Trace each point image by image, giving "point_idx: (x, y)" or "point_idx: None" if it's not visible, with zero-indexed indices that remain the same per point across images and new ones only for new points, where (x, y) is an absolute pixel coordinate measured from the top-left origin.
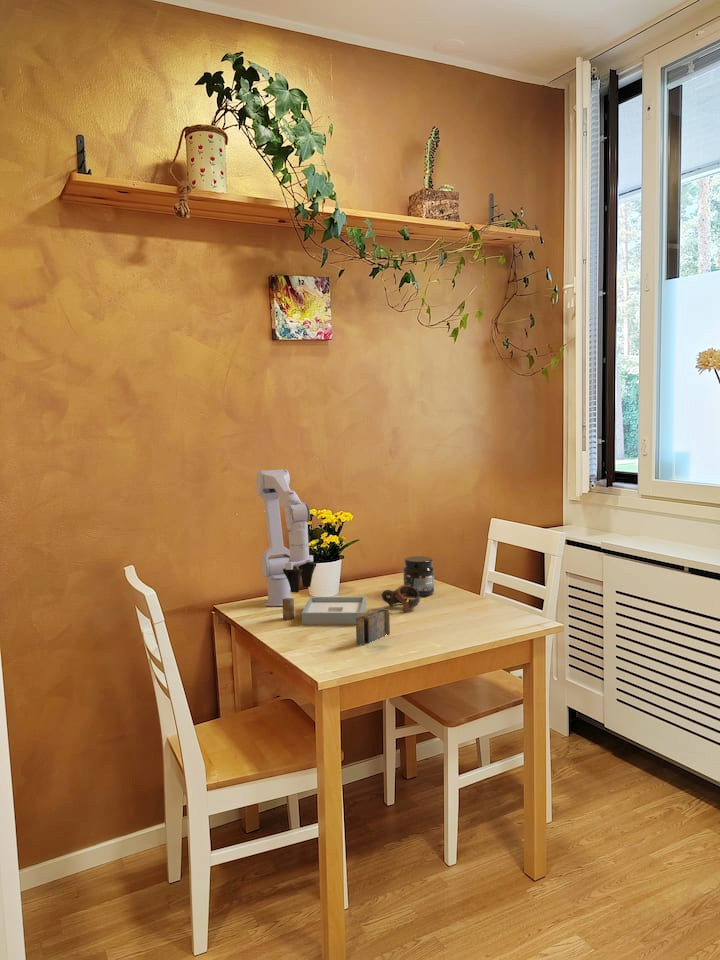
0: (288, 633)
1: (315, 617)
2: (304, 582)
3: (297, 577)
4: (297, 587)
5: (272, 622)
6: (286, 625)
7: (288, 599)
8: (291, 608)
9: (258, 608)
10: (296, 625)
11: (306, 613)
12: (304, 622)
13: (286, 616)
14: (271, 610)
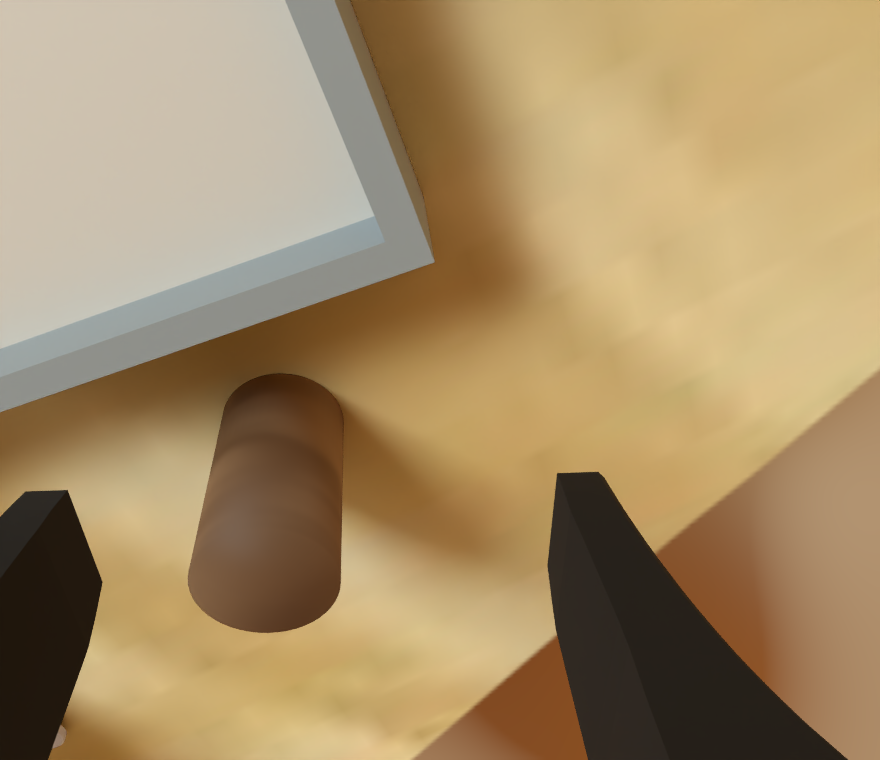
0: (765, 184)
1: (362, 54)
2: (66, 638)
3: (828, 745)
4: (642, 545)
5: (454, 489)
6: (501, 336)
7: (258, 581)
8: (298, 461)
9: (142, 739)
10: (468, 242)
11: (410, 199)
12: (415, 179)
13: (342, 441)
14: (131, 651)
